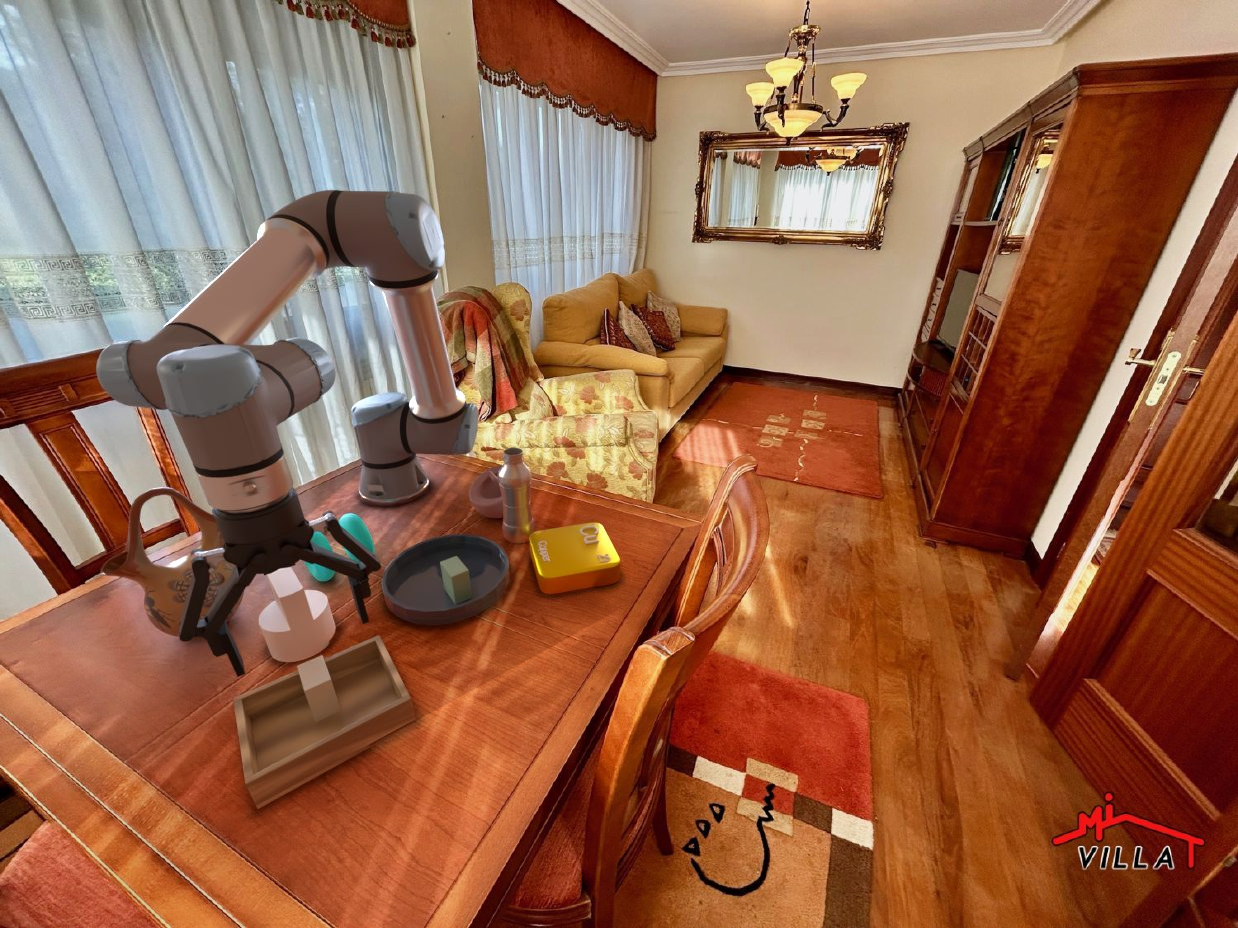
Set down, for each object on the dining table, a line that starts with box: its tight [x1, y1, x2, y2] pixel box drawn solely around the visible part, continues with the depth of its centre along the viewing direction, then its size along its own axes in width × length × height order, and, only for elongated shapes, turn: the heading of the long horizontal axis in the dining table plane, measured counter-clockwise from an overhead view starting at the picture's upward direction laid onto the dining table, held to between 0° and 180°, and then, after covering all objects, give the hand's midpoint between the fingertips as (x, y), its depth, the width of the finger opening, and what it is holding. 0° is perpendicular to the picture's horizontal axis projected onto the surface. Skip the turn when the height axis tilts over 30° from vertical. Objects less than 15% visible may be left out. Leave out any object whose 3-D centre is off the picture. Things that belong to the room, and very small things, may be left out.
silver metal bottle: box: [497, 447, 536, 545], centre depth 99 cm, size 6×7×20 cm
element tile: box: [528, 522, 621, 595], centre depth 95 cm, size 15×15×5 cm
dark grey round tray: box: [380, 533, 511, 626], centre depth 90 cm, size 21×22×4 cm
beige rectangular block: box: [296, 654, 341, 723], centre depth 66 cm, size 5×3×6 cm, turn 39°
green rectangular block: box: [440, 556, 472, 604], centre depth 86 cm, size 5×3×6 cm, turn 39°
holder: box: [232, 634, 417, 810], centre depth 65 cm, size 14×18×5 cm
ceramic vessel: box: [100, 487, 245, 638], centre depth 74 cm, size 16×9×25 cm, turn 153°
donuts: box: [303, 512, 376, 582], centre depth 91 cm, size 10×10×10 cm
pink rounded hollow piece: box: [468, 464, 503, 519], centre depth 109 cm, size 12×12×11 cm
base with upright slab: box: [257, 566, 337, 663], centre depth 75 cm, size 9×9×12 cm
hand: (305, 641), depth 63 cm, fingers open, 13 cm apart
